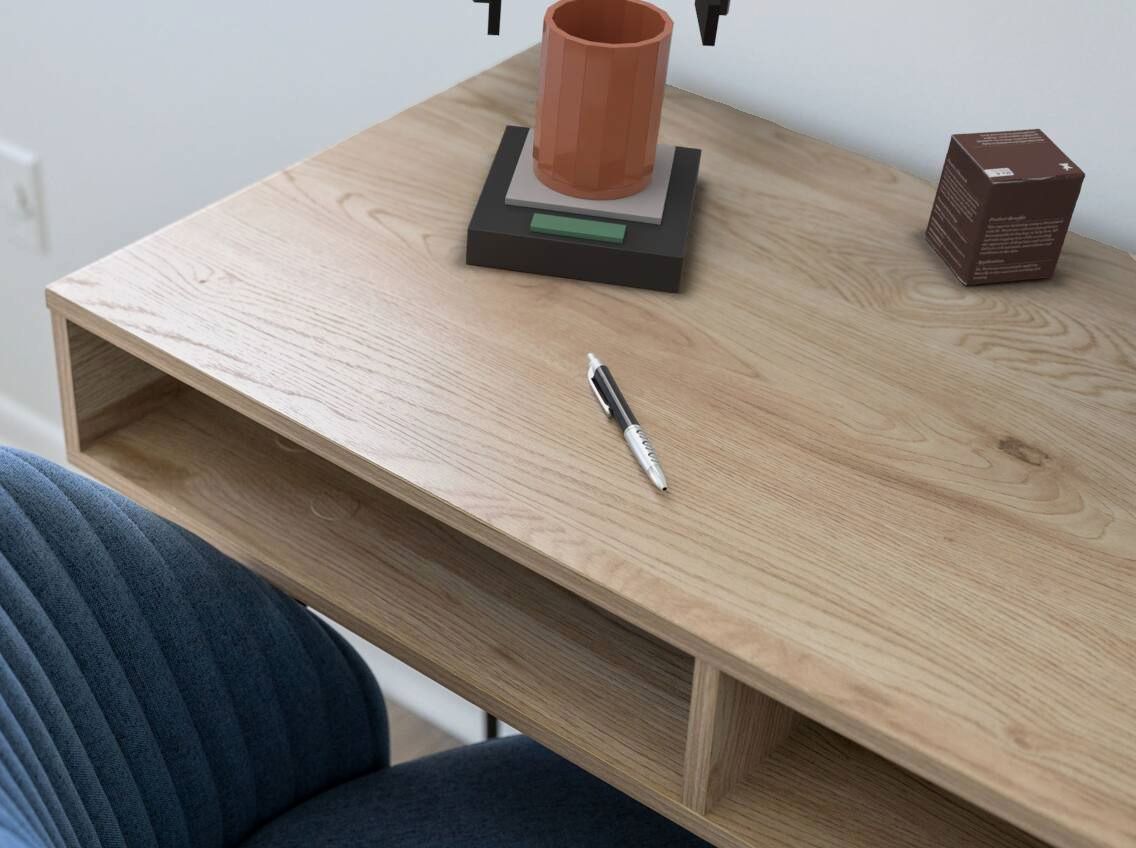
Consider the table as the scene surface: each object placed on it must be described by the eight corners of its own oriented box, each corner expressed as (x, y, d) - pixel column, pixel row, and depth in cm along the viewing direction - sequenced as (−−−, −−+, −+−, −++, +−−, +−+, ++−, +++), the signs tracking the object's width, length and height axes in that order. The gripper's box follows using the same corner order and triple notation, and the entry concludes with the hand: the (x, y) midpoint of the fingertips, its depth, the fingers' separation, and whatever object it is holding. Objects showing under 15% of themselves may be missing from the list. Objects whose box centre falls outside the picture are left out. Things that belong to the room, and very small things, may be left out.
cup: (658, 150, 105) (678, 1, 98) (646, 207, 99) (666, 53, 93) (542, 135, 106) (554, -12, 99) (523, 191, 100) (535, 38, 94)
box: (1010, 231, 104) (1041, 126, 99) (1054, 281, 99) (1089, 174, 95) (921, 237, 103) (949, 132, 98) (962, 288, 98) (992, 180, 94)
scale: (696, 182, 108) (703, 141, 106) (678, 293, 97) (684, 250, 95) (504, 158, 110) (507, 117, 108) (465, 264, 99) (467, 221, 97)
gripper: (755, -41, 120) (792, 85, 104) (420, -58, 121) (403, 66, 104) (773, -144, 115) (813, -29, 99) (423, -161, 116) (406, -49, 99)
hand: (603, 20), depth 101 cm, fingers open, 13 cm apart
